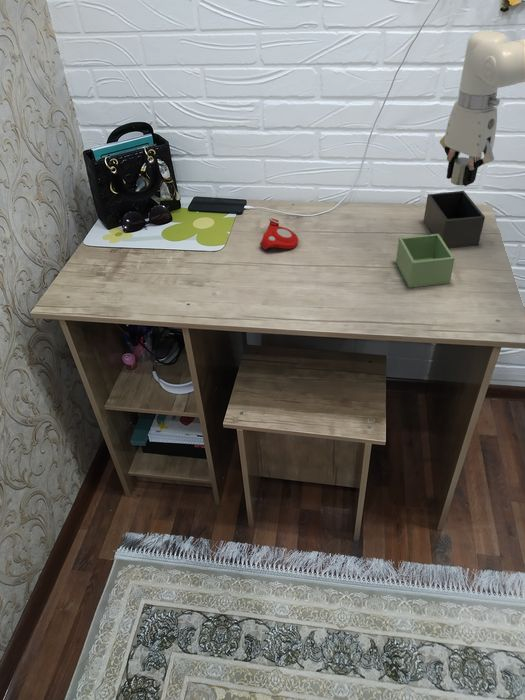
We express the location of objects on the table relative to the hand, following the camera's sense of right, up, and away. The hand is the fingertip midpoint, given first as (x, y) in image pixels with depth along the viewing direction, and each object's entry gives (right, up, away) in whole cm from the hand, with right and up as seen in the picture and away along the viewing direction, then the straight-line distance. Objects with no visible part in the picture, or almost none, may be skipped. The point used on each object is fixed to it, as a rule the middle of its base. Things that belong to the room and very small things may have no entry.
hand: (460, 179), depth 132 cm
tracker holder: (-41, -12, +11) cm, 45 cm away
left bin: (-9, -22, -2) cm, 24 cm away
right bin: (+1, -10, +9) cm, 14 cm away
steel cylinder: (0, 0, 0) cm, 1 cm away
